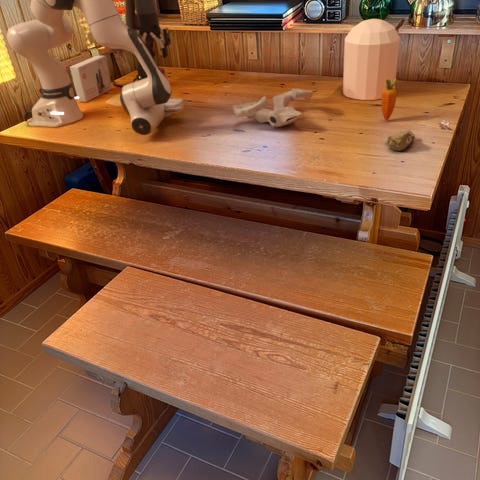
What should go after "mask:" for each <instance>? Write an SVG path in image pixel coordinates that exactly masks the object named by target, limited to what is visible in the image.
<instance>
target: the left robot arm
mask: <svg viewBox="0 0 480 480" xmlns="http://www.w3.org/2000/svg"><path fill="white" fill-rule="evenodd" d="M29 8H30V11H31V13H32V15H33V17H34V18H35V19H31V20H27V21H22V22H19V23H16V24H14V25H13V26H11V27H8V30H7V32H6V40H7V43H8V46H9V47H10V48H11V50H12V51H13V52H15V54H18V55H19V56H22V57H23V58H25V60H27V61H28V62H29V63H30V64H31V65H32V67H33V68H34V70H35V72H36V74H37V77H38V80H39V82H40V85H41V87H40V88H39V90H37V91H36V92H37V95H39V94H40V97H39V99H38V100H37V101H36V103H35V104H34V105H33V106H32V107H30V108H29V109H28V110H27V111H26V112H25V114H24V116H23V117H24V118H23V119H24V121H25V122H28V126H30V127H31V126H32V127H49V128H58V127H62V126H64V125H68V124H71V123H75V122H77V121H80V120H81V119H82V118H83V117H84V113H83V112H82V111H81V108H80V106H79V105H78V101H77V100H78V98H79V97H77V96H76V95H75V92H74V89H73V84H72V83H71V81H70V78H69V75H68V72H67V68H66V65H65V64H64V63H63V61H61V60H59V59H57V58H54V57H51V55H50V53H49V50H51V49H55V48H59V47H62V46H64V45H66V44H68V43H69V42H71V40H72V39H73V28H72V26H71V24H70V22H69V21H68V20H67V19H66V17H64V13H65V11H72V10H73V8H75V9H76V8H77V9H78V10H80V12H81V13H82V15H83V16H84V19H85V22H86V24H87V26H88V29H89V31H90V33H91V36H92V37H93V39H94V41H96V43H97V44H99V45H100V46H102V47H104V48H108V49H111V50H124V51H128V52H131V53H132V54H133V55H134V56H135V58H136V57H137V59H138V60H139V62H140V64H141V65H142V67H143V69H144V70H145V72H146V74H147V76H148V77H147V78H145V79H142V80H139V81H137V80H135V82H133V81H132V82H129V83H127V84H123V85H124V86H123V87H121V90H120V94H119V102H120V104H121V106H122V108H123V110H124V112H125V113H126V114H127V115H128V116H129V117H130V126H131V128H132V130H133V131H134V132H135V133H136V134H138V135H141V136H146V135H147V136H148V135H150V134H152V133H153V132H154V131H155V130H156V129H157V128H158V127H159V125H160V123H162V121H163V119H164V118H166V117H165V114H166V113H171V114H177V113H180V112H182V111H183V110H184V109H185V100H184V99H183V98H181V97H180V98H173V97H171V96H172V93H173V90H172V86H171V83H170V82H169V80H168V78H167V77H166V76H165V73H164V74H163V73H162V72H161V70H160V69H159V68H160V67H159V65H158V63H157V64H156V62H155V60H154V58H153V57H152V55H151V53H150V52H149V50H148V48H147V47H146V45H145V43H144V42H143V40H142V36H141V35H139V34H138V33H137V32H136V31H135V30H134V29H131V28H129V27H128V26H127V25H126V23H125V21H124V20H123V19H122V17H121V15H120V13H119V10H118V9H117V6H116V4H115V3H114V1H113V0H30V4H29ZM76 99H77V100H76ZM28 118H31V119H30V120H29V121H28Z"/></svg>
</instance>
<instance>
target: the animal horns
mask: <svg viewBox="0 0 480 480" xmlns="http://www.w3.org/2000/svg"><path fill="white" fill-rule="evenodd" d="M313 93H314V92H313V91H312V90H307V89H302V88H292V89H291V90H289V91H286V92H283V93H281V94H277V95H275V96H272V102H271V103H272V107H273V109H272V110H271V109H266V108H265V107H267V106H268V98H267V96H266V95H264V96H262V97H261V98H260V99H259V100H258V101H257V102H256V101H251V102H246V103H240V104H234V105H232V106H231V107H232V108H231V109H232V112H233V113H234V115H235V116H237V118H244V117H246V118H248V119H252V120H257V122H259V123H269V124H270V126H272V127H274V128H280V127H284V126H287V125H290V124H294V123H296V121H298V120H301V119H302V112H301V111H300V110H297V109H295V108H294V107H291V106H288V105H289V103H290V102H292V101H299V100H308V101H310V100H311V99H312V97H313Z"/></svg>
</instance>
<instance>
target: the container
mask: <svg viewBox="0 0 480 480" xmlns="http://www.w3.org/2000/svg"><path fill="white" fill-rule="evenodd" d="M400 42H401V37H400V35H399V34H398V31H397V29H396V27H395V26H394V25H393V24H391V23H390V22H388V21H386V20H384V19H380V18H370V19H365V20H362V21H361V22H359V23H358V24H356V25H354V26H353V27H352V28H351V29H350V30H349V32H348V33H347V35H346V36H345V38H344V47H343V51H344V52H343V53H344V54H343V79H342V80H343V81H342V95H344V96H345V97H347V98H350V99H353V100H360V101H373V100H381V98H382V91H383V90H384V89H386V88H387V87H386V85H387V83H386V79H390V82H391V84H393V82H394V80H395V79H397V78H396V77H397V70H398V60H399V53H400V52H399V51H400ZM389 86H390V85H389ZM391 86H392V85H391ZM393 88H394V89H395V90H396V83H395V84H394V86H393Z"/></svg>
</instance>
